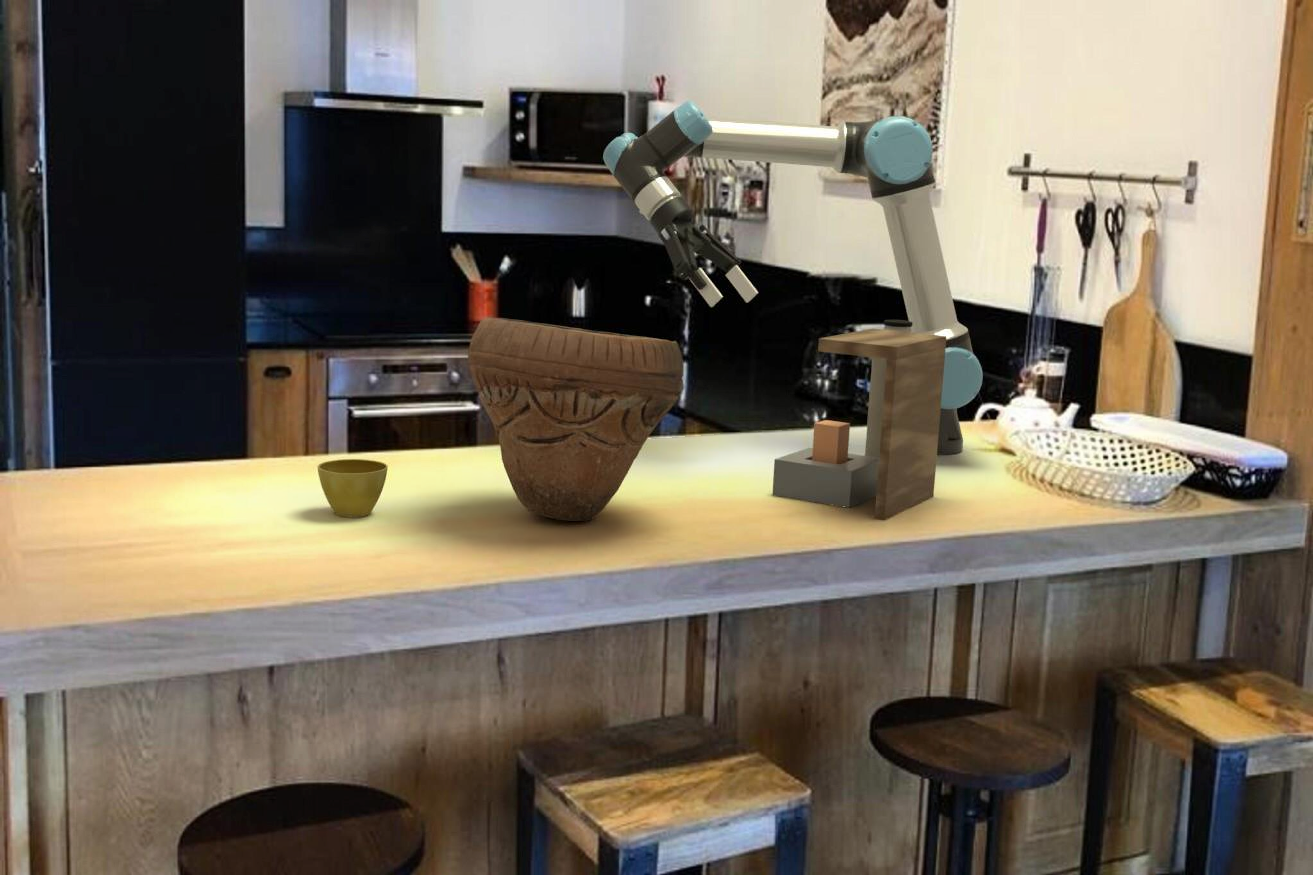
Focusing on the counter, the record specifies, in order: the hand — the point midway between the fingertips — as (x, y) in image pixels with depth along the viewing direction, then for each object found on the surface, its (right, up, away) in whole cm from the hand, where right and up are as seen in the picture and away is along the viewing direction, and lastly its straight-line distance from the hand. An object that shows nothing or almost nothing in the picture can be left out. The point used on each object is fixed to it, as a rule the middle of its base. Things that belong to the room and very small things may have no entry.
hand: (735, 300), depth 261 cm
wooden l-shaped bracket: (+21, -35, -19) cm, 45 cm away
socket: (+14, -34, -15) cm, 40 cm away
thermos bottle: (+26, -32, 0) cm, 41 cm away
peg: (+14, -34, -15) cm, 40 cm away
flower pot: (-59, -36, -43) cm, 81 cm away
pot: (-27, -36, -38) cm, 59 cm away
